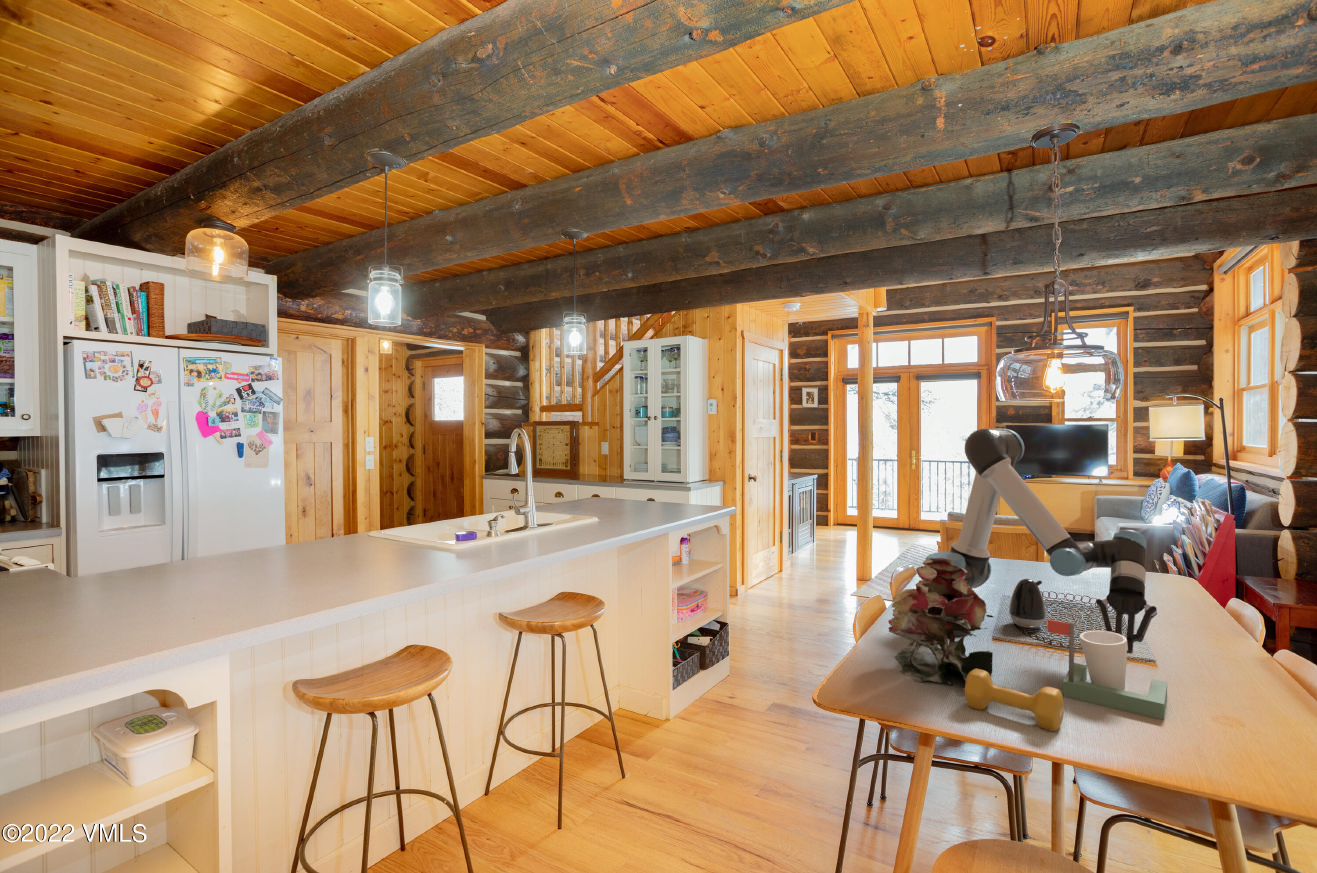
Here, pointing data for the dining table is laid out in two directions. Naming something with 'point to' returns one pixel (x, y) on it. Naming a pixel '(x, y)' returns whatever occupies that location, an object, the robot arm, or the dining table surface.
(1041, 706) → the dumbbell
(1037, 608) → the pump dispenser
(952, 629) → the rose bouquet
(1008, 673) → the dining table surface
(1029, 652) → the dining table surface
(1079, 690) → the putting pocket
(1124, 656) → the foam cup
